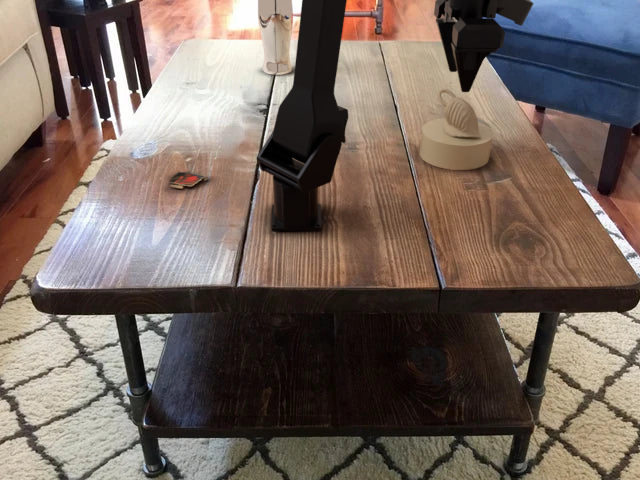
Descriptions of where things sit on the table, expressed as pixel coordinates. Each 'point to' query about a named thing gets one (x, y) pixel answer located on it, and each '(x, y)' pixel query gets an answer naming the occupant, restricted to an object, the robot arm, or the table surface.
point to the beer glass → (276, 34)
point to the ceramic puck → (454, 147)
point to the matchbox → (185, 179)
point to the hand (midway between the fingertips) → (459, 81)
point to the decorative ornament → (459, 117)
